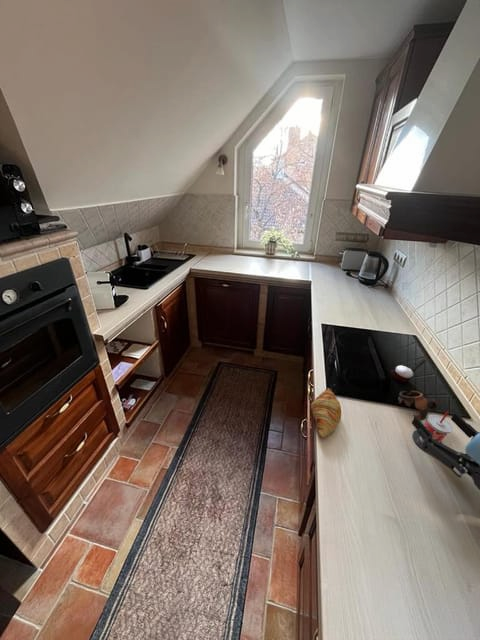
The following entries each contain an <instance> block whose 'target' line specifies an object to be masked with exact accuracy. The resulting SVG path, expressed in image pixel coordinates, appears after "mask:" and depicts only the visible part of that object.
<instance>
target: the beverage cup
mask: <svg viewBox="0 0 480 640" xmlns="http://www.w3.org/2000/svg"><path fill="white" fill-rule="evenodd" d="M448 414H449V411H448V410H447V411H445V413H444V414H443V416H441V415H438V414H430V415H428V416H427V421H426V423H425V425H424V426H425V427H426V428H427V429H428V430H429V432H430V433H431V434H432V435H433V437H432V438H433V439H435V440H436V441H438V442H442V441H443V440H444V438H445V437H446V436H447V435H448V434H450V433H451V432H452V431H453V425H452V424H451V422H450V421H449V420H448V419H446V417H448ZM420 440H421V442H422V443H423V442H424V440H423V439H422V438H421V437H420ZM431 444H433V443H431Z"/></svg>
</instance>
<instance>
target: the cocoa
mask: <svg viewBox="0 0 480 640" xmlns="http://www.w3.org/2000/svg"><path fill="white" fill-rule="evenodd" d="M427 361H428V360H427V358H426V357H424V358H422V359H421V360H420V361H419V362H418V363H417V364H415V365H414V366H413V367H412V368H410V367H407V366H404V365H402V364H401V365H397V366H396V367H395V368H394V370H390V375H391V376H392V377H393V378H394V379H395V380H396V381H398V382H399V383H407V382H409V381H410V380H411V379H412V378H413V376H414V372H415V371H416V370H417V369H418V368H420V367H421V366H422V365H423V364H424V363H426V362H427Z"/></svg>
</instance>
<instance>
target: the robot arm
mask: <svg viewBox="0 0 480 640" xmlns="http://www.w3.org/2000/svg"><path fill="white" fill-rule="evenodd" d="M450 420H451V421H452V423H454V425H456V426H457V427H458V428H459V429H460V431H462V433H464V434H465V435H466V436H467V437H468V438H469V439H470V438H471V439H470V440H469V442H468V443H467V444H466V445H465V449H464V451H465V453H464V452H462V451H457V450H455V449H453V448H452V447H450V446H448V445H446V444H445V443H443V442H442V443H443V444H442V443H440V442H438V441H436V440H435V439H433V438H432V437H433V435H432V434H431V433H430V432H429V430H428V429H427V428H426V427H425V425H424V423H423V422H422V420H419V419H418V418H417V417H413V419H412V421H411V425H412V426H413V427H414V428H415V430H418V431H417V432H418V434H419V435H420V437H421V438H422V439H423V440H424V442H423V443H422V445H421V447H422V448H423V449H424V450H425V451H427V452H428V453H427V452H426V453H427V454H429V455H431V456H432V457H433V458H435V459H436V460H437V461H439V462H440V463H441V464H443V465H444V466H445V467H446V468H447V469H449V470H450V471H451V472H452V473H453V474H454V475H455V476H456V477H457V478H462V477H463V475H468V476H469V477H470V478H471V479H472V481H473V484H474V486H475V487H476V488H477V489H478V490H479V491H480V431H477V430H476V429H475V428H474V427H473V426H472V424H470V423H468V422H467V421H466V420H465V419H464V418H463V417H462V416H460V415H459V413H457V412H455V413H453V415H452V416H451V418H450ZM431 443H433V444H431ZM424 450H423V451H424ZM425 451H424V452H425Z"/></svg>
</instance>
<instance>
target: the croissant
mask: <svg viewBox="0 0 480 640" xmlns="http://www.w3.org/2000/svg"><path fill="white" fill-rule="evenodd" d="M310 409H311V411H312V412H311V413H312V416H313V418H314V420H315V426H316V427H317V429H318V430H317V431H318V434H319V437H321V438H322V439H323V438H327V437H328V436H329V435H330V434H332V433H333V431H335V430H336V428H337V425H338V424H339V423H340V422H341V419H342V406H341V403H340V401H339V400H338V398H337V396H335V393H334V392H333V391H332V388H329V387H327V388H326V389H325V391H324V390H323V392H321V393H320V394H319V395H318V396H317V397H315V399H314V400H313V401H312V402H311V403H310Z"/></svg>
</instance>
